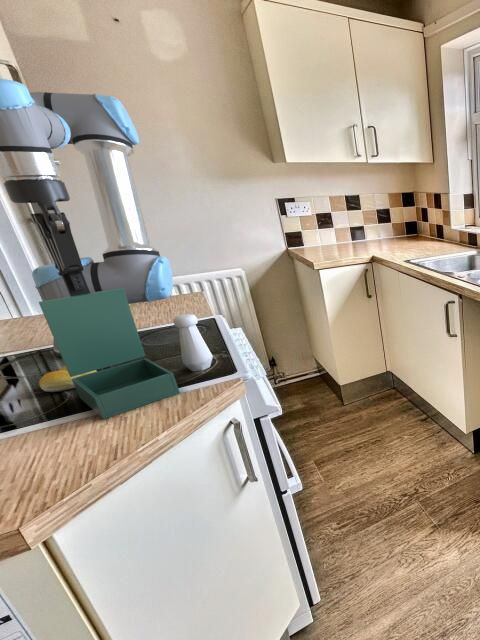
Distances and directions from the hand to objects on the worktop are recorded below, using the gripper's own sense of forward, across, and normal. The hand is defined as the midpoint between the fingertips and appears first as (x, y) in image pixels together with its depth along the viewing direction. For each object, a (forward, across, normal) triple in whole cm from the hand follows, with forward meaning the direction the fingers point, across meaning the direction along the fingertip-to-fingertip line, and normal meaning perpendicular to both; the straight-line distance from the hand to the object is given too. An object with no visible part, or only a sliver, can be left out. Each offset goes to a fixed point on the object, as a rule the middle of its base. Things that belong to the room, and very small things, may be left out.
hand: (85, 305), depth 84 cm
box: (+18, -7, 0) cm, 20 cm away
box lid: (+6, -1, 0) cm, 6 cm away
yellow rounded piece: (+19, +12, +5) cm, 23 cm away
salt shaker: (+19, -4, -14) cm, 24 cm away
